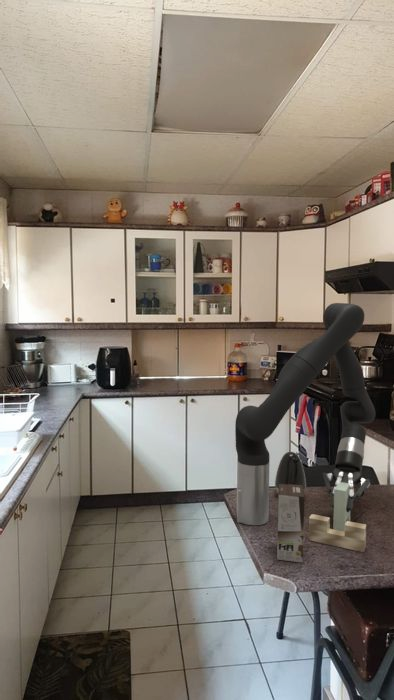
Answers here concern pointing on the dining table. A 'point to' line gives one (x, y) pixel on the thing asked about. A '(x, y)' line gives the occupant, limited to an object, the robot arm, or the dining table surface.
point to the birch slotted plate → (337, 533)
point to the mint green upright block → (341, 506)
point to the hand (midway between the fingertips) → (341, 509)
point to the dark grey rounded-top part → (290, 471)
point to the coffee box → (290, 522)
